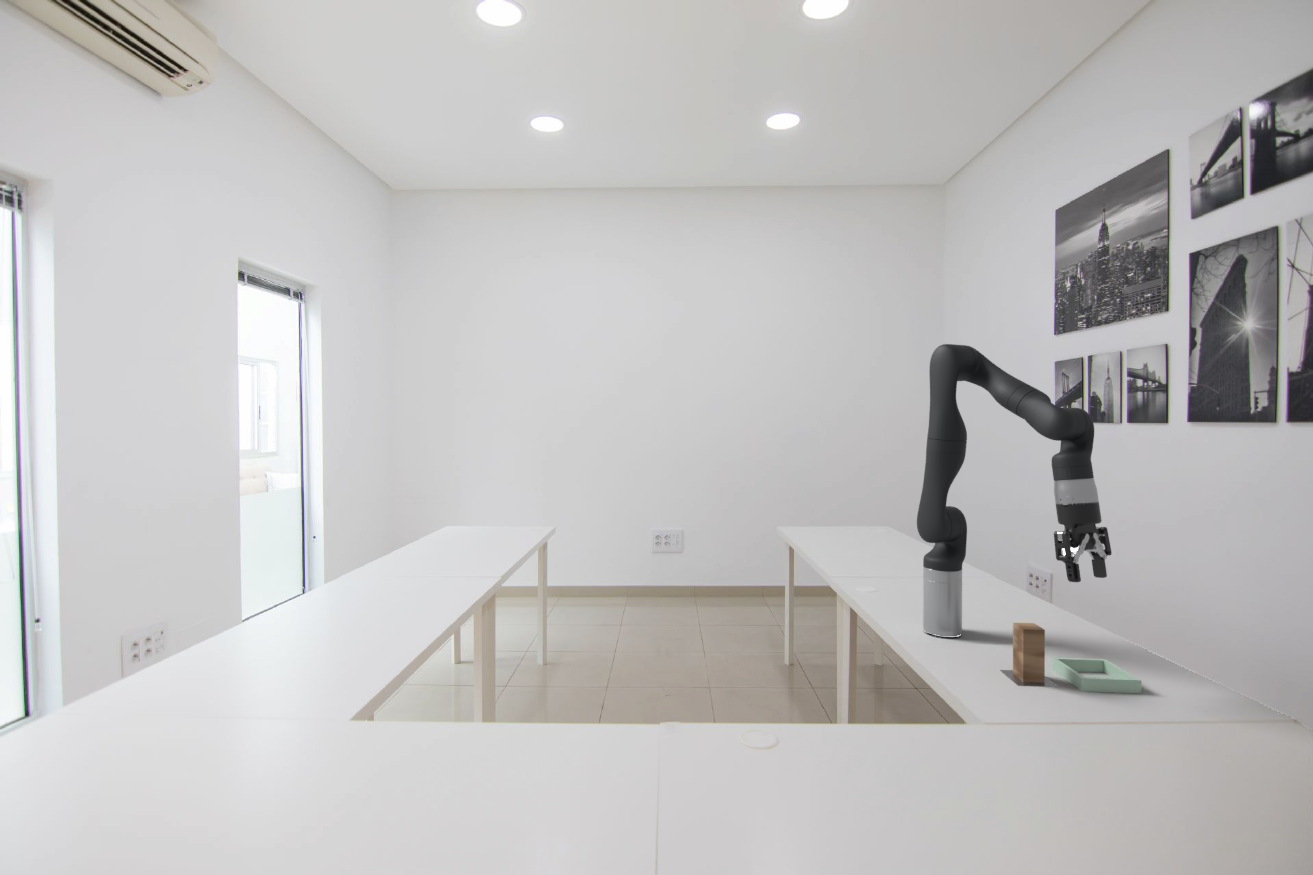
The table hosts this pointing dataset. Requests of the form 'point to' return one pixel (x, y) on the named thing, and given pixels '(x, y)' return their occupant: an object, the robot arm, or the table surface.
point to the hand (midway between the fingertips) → (1087, 579)
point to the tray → (1117, 683)
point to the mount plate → (1020, 683)
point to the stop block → (1029, 652)
